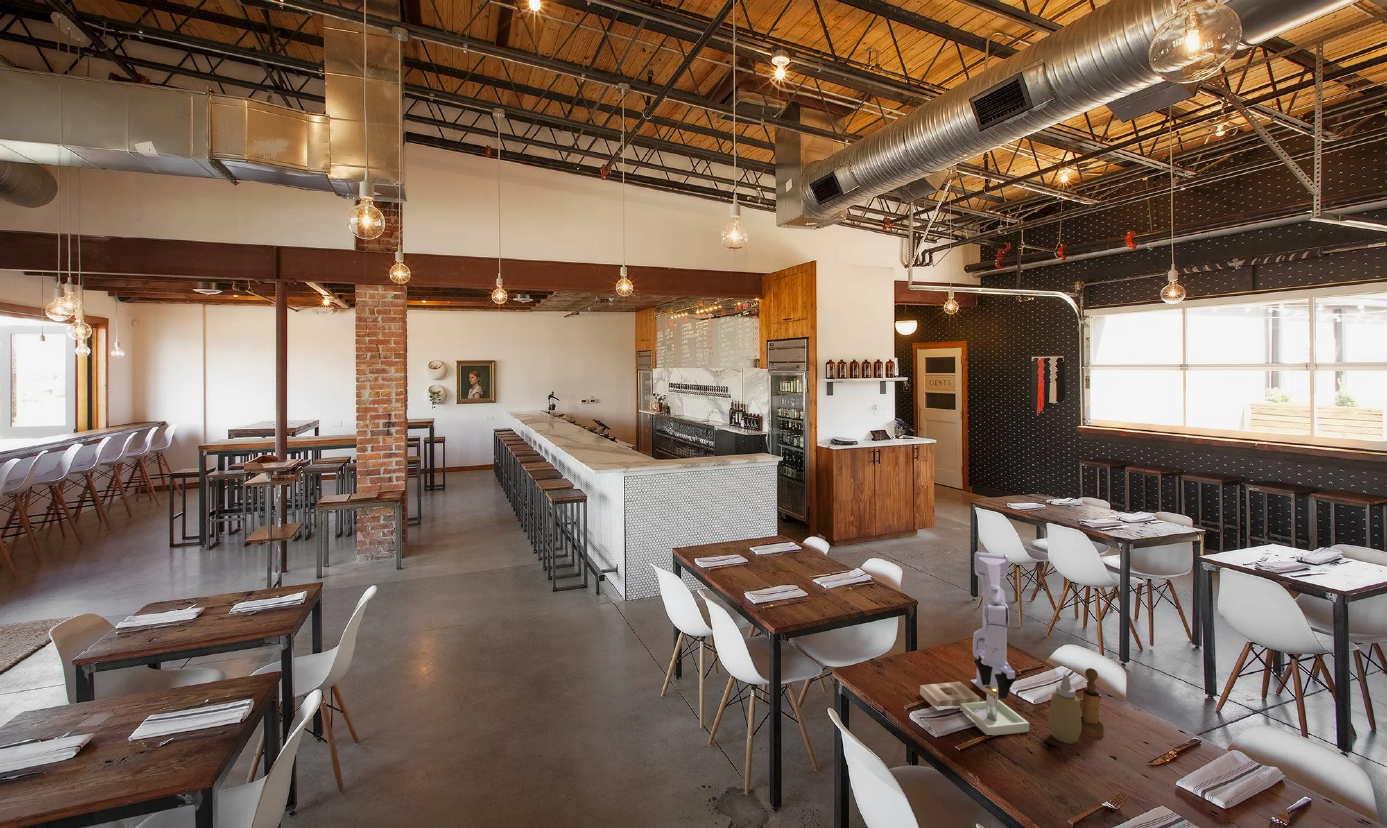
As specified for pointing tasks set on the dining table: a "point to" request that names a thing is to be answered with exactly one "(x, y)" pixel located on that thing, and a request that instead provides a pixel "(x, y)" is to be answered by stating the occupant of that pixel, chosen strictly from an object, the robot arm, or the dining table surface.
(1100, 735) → the wooden pepper mill
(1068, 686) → the squeeze bottle
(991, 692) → the pin
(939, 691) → the hitch block
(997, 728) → the tray
